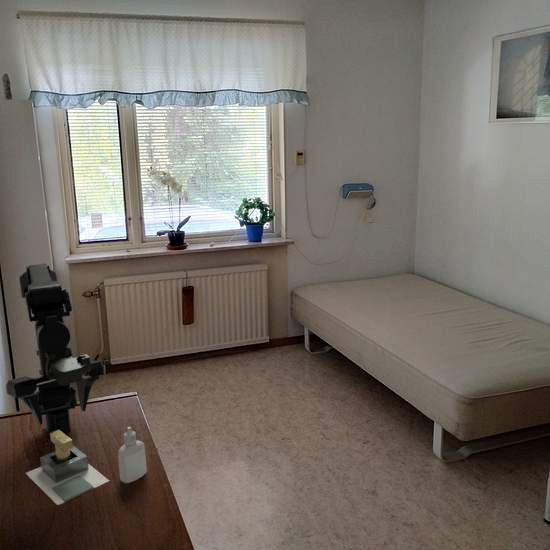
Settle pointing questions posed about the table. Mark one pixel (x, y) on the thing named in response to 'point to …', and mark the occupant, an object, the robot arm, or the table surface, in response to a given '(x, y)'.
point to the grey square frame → (64, 465)
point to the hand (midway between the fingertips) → (62, 417)
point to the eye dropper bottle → (131, 458)
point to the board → (47, 483)
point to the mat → (72, 488)
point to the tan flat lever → (61, 446)
